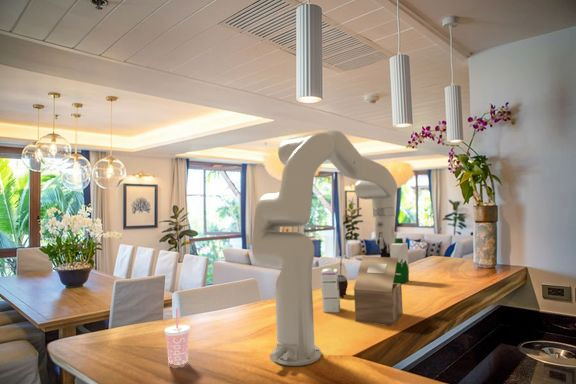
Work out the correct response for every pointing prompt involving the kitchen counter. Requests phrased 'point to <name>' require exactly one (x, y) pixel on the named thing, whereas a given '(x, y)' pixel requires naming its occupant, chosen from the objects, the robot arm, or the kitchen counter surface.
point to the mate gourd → (342, 283)
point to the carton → (379, 306)
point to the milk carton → (400, 260)
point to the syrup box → (330, 290)
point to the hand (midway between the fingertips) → (385, 263)
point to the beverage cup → (177, 342)
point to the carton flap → (376, 274)
